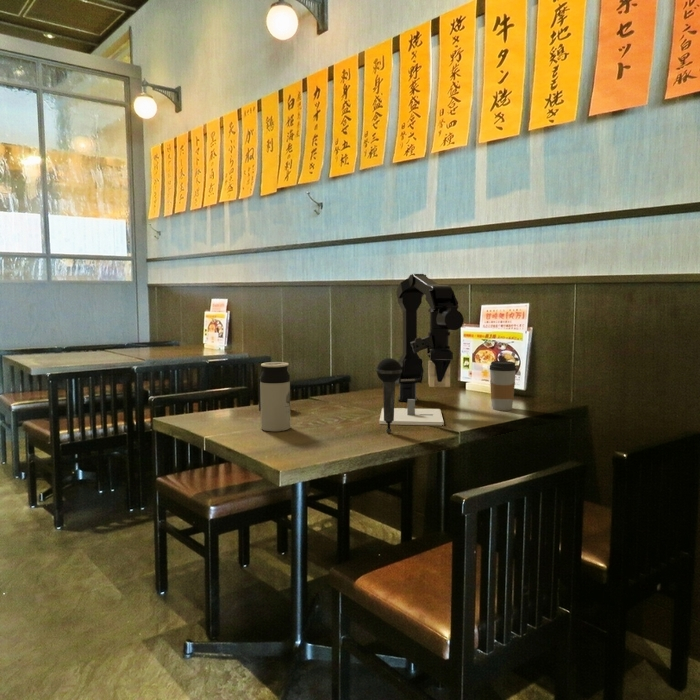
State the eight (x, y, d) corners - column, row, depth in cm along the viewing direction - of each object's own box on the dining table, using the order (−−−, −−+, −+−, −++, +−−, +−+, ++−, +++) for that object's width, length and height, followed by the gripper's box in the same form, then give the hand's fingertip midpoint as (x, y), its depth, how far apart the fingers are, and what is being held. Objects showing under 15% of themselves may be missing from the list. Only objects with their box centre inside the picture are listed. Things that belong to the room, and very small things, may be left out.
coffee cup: (516, 412, 178) (517, 364, 176) (488, 410, 180) (490, 363, 178) (514, 406, 186) (515, 361, 185) (488, 405, 188) (489, 360, 186)
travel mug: (255, 430, 154) (254, 364, 153) (270, 424, 162) (269, 361, 160) (282, 433, 152) (281, 366, 150) (295, 426, 159) (294, 362, 157)
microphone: (383, 437, 147) (383, 360, 145) (371, 431, 153) (371, 357, 151) (406, 434, 150) (407, 359, 148) (394, 429, 156) (394, 356, 154)
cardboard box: (428, 383, 175) (428, 360, 174) (448, 383, 174) (448, 360, 174) (429, 386, 169) (429, 362, 168) (450, 386, 168) (450, 362, 168)
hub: (382, 411, 180) (382, 393, 179) (439, 412, 178) (440, 394, 177) (379, 424, 162) (379, 405, 161) (443, 425, 160) (443, 406, 160)
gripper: (411, 326, 180) (410, 375, 181) (413, 330, 161) (413, 384, 163) (446, 326, 179) (446, 375, 180) (453, 330, 160) (452, 385, 162)
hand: (438, 380), depth 171 cm, fingers closed on cardboard box, 6 cm apart
